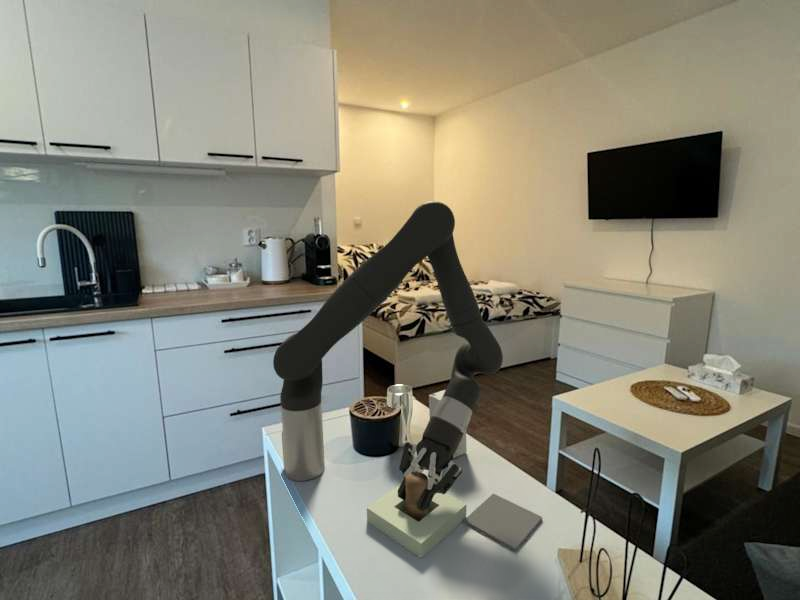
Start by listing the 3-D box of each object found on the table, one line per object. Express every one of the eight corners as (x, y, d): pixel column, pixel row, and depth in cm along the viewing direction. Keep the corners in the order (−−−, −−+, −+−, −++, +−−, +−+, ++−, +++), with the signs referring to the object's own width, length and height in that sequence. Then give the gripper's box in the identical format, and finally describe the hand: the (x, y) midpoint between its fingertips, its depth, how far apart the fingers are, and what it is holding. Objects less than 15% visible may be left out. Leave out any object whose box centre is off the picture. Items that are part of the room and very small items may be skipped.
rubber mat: (464, 522, 83) (464, 519, 82) (493, 495, 90) (493, 493, 90) (515, 551, 75) (515, 548, 75) (542, 519, 83) (542, 516, 83)
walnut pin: (401, 520, 83) (400, 479, 82) (415, 509, 87) (415, 469, 85) (418, 530, 81) (418, 488, 79) (432, 518, 84) (432, 478, 82)
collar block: (367, 521, 83) (366, 507, 83) (413, 488, 93) (413, 476, 93) (421, 558, 74) (421, 543, 73) (466, 517, 84) (466, 504, 83)
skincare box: (466, 453, 107) (467, 398, 104) (448, 461, 104) (449, 404, 101) (445, 439, 114) (446, 388, 111) (428, 446, 111) (428, 393, 108)
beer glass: (383, 445, 111) (382, 392, 109) (393, 433, 118) (392, 382, 115) (408, 450, 109) (407, 395, 106) (416, 437, 115) (416, 385, 113)
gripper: (413, 406, 90) (374, 483, 84) (470, 427, 81) (430, 515, 74) (429, 420, 95) (393, 494, 89) (484, 442, 85) (448, 526, 79)
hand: (410, 503), depth 81 cm, fingers closed on walnut pin, 4 cm apart
